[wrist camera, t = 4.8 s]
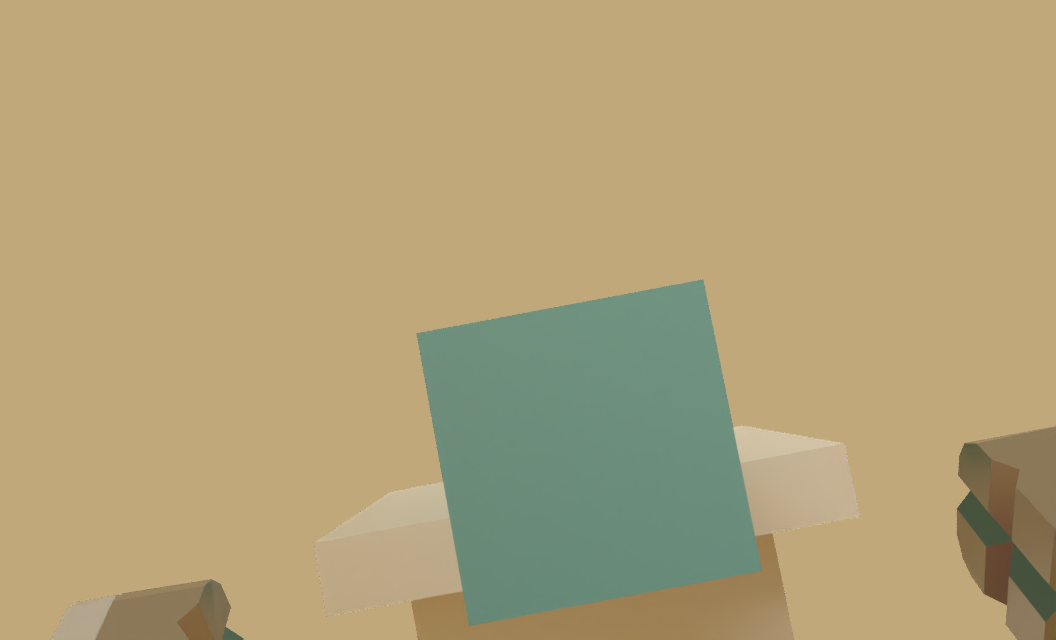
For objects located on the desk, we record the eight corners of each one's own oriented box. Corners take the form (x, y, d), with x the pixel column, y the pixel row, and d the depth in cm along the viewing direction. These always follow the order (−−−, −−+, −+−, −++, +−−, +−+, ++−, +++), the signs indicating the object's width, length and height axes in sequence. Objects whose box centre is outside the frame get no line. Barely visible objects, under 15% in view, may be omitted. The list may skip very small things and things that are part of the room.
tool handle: (762, 570, 10) (703, 279, 10) (468, 625, 10) (417, 333, 10) (604, 441, 35) (588, 359, 35) (522, 456, 35) (506, 374, 35)
